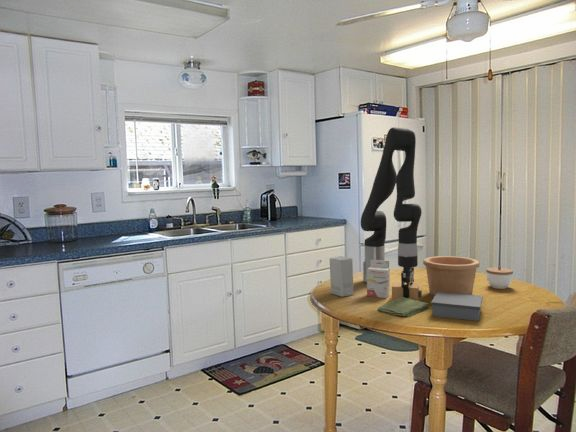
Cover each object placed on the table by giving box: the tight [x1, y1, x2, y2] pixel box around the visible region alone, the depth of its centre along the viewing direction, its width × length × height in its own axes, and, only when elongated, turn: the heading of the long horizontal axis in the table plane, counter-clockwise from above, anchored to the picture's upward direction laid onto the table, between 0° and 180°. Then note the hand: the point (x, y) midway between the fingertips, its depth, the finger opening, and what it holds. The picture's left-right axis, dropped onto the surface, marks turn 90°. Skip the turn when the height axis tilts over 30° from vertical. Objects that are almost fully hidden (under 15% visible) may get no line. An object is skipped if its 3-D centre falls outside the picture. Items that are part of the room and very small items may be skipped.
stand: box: [430, 292, 484, 322], centre depth 165 cm, size 16×16×5 cm
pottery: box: [422, 255, 480, 298], centre depth 189 cm, size 22×22×14 cm
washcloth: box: [376, 297, 430, 318], centre depth 170 cm, size 13×18×3 cm
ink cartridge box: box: [366, 260, 391, 299], centre depth 189 cm, size 9×5×15 cm, turn 65°
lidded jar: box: [485, 265, 514, 290], centre depth 200 cm, size 11×11×9 cm
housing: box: [391, 283, 423, 301], centre depth 182 cm, size 11×6×6 cm, turn 71°
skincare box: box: [329, 256, 354, 298], centre depth 193 cm, size 8×7×16 cm
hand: (407, 295), depth 182 cm, fingers open, 6 cm apart
